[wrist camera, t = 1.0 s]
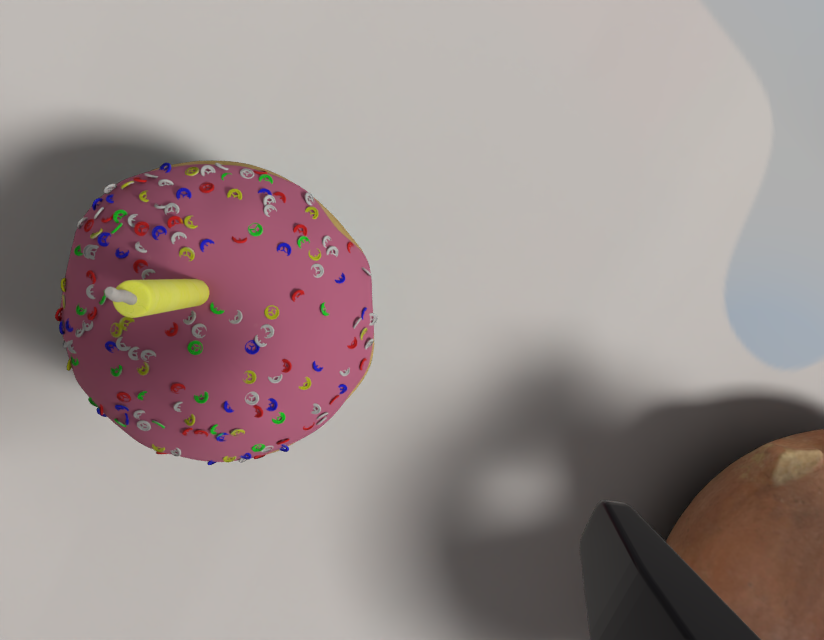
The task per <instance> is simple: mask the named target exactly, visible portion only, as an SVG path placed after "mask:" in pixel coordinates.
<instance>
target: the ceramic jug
mask: <svg viewBox="0 0 824 640" xmlns="http://www.w3.org/2000/svg"><path fill="white" fill-rule="evenodd" d="M666 543H667V544H668V545H669V546H670V547H671V548H672V549H673V550H674V551H675V552H676V553H677V554H678V555H679V556H680V557H681V558H682V559H683V560H684V561H685V562H686V563H687V564H688V565H689V566H690V567H691V568H692V569H693V570H694V571H695V572H696V573H697V574H698V575H699V576H700V577H701V579H702V580H703V581H704V582H705V583H706V584H707V585H708V586H709V587H710V588H711V589H712V590H713V591H714V592H715V593H716V594H717V595H718V596H719V597H720V598H721V599H722V600H723V601H724V602H725V603H726V604H727V605H728V606H729V607H730V608H731V609H732V610H733V611H734V612H735V613H736V614H737V615H738V616H739V617H740V618H741V619H742V621H743V622H744V623H745V624H746V625H747V626H748V627H749V628H750V629H751V630H752V631H753V632H754V633H755V634H756V635H757V636H758V637H759V638H760V639H761V640H824V429H819V430H813V431H808V432H803V433H799V434H794V435H791V436H787V437H784V438H781V439H777V440H775V441H772V442H769V443H767V444H765V445H762V446H760V447H759V448H757V449H755V450H753V451H751V452H750V453H748V454H746V455H745V456H743V457H741V458H740V459H738V460H736V461H735V462H733V463H732V464H731V465H729V466H728V467H726V468H725V469H724V470H723V471H722V472H720V473H719V474H718V475H717V476H716V477H714V478H713V479H712V480H711V481H710V482H709V483H708V484H707V485H706V486H705V487H704V488H703V489H702V490H701V491H700V492H699V493H698V494H697V495H696V496H695V498H694V499H693V500H692V502H691V503H690V504H689V506H688V507H687V508H686V509H685V511H684V512H683V513H682V515H681V516H680V518H679V519H678V521H677V522H676V524H675V526H674V527H673V529H672V531H671V533H670V534H669V536H668V538H667V540H666Z"/></svg>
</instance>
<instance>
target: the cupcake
mask: <svg viewBox="0 0 824 640" xmlns="http://www.w3.org/2000/svg"><path fill="white" fill-rule="evenodd" d="M110 187H111V188H110ZM108 188H110V189H108ZM103 192H104V193H105V194H104V195H103V196H102V197H101V198H98V199H96V200H95V201H94V202H93V204H92V207H91V208H90V209H89V210H88V212H87V213H86V214H85V216H84V217H83V218H82V219H81V220H79V222H78V223H77V230H76V232H75V236H74V241H73V245H72V249H71V253H70V257H69V262H68V266H67V271H66V276H65V278H63V279H62V280H61V289H62V291H63V293H62V301H61V308H59V309H58V310H57V312H56V315H55V318H56V320H57V321H60V325H59V329H60V333H61V334H63V338H64V343H63V347H64V348H66V349H67V352H68V356H69V361H68V364H67V370H68V371H69V370H70V369H71V368H72V369H73V372H74V375H75V378H76V380H77V382H78V383H79V385H80V386H81V388H82V389H83V390H84V391H85V393H86V394H87V395H88V396H89V399H88V400H89V402H90V403H91V404H92V405H94V406H96V407H98V408H97V413H98V414H99V415H101V416H103V417H108V418H109V419H111V420H112V421H113V422H114V423H115V424H116V425H118V426H119V427H120V428H121V429H122V430H124V431H125V432H126V433H127V434H128V435H130V436H131V437H132V438H134V439H135V440H136V441H138V442H139V443H141V444H143V445H144V446H147V447H149V448H151V449H154V450H155V451H157V452H156V453H157V454H172V455H174V456H181V457H186V458H190V459H195V460H201V461H209V462H208V465H212V464H214V463H216V462H232V461H236V460H239V462H240V463H242V462H244V461H246V460H247V459H250V458H253V457H254V459H258V458H261V457H263V456H265V455H266V454H270V453H273V452H276V451H279V450H281V451H284V452H287V451H288V450H289V448H288V446H290V445H291V444H293V443H295V442H297V441H298V440H300V439H302V438H304V437H306V436H308V435H309V434H311V433H313V432H314V431H316V430H317V429H319V428H320V427H321V426H322V425H324V424H325V423H326V422H327V421H328V420H329V419H330V418H331V417H332V416H333V415H334V414H335V413H336V412H337V411H338V409H339V408H340V407H341V406H342V404H343V403H344V402H345V401H346V400H347V399H348V398H349V397H350V395H351V394H352V393H353V392H354V391H355V390H356V388H357V387H358V386H359V384H360V383H361V382H362V380H363V379H364V377H365V375H366V373H367V371H368V369H369V367H370V364H371V361H372V357H373V350H374V324H375V323H376V321H377V316H376V315H375V314H374V313H373V306H372V282H371V272H370V267H369V264H368V261H367V259H366V257H365V255H364V253H363V251H362V250H361V249H360V247H359V246H358V245H357V243H356V242H355V241H354V239H353V238H352V237H351V236H350V235H349V233H348V232H347V231H346V230H345V228H344V227H343V226H342V225H341V223H340V222H339V221H338V220H337V219H336V218H335V217H334V216H333V215H332V214H331V213H330V212H329V211H328V210H327V209H326V208H325V207H324V206H323V205H322V204H321V203H320V202H319V201H317V200H316V199H315V198H314V197H313V196H312V194H310V193H308V192H307V191H306V190H304V189H303V188H301V187H300V186H298V185H296V184H295V183H293V182H291V181H289V180H288V179H286V178H284V177H282V176H280V175H278V174H275V173H273V172H271V171H268V170H266V169H263V168H260V167H257V166H253V165H249V164H245V163H239V162H231V161H194V162H186V163H180V164H173V165H170V164H169V163H164V164H163V165H161V167H160V168H157V169H154V170H152V171H149V172H145V173H142V174H139V175H136V176H133V177H130V178H127V179H125V180H123V181H121V182H119V183H118V184H110V185H108V186H106V187H105V188H104V190H103ZM63 283H64V284H63ZM59 313H60V316H58V315H59ZM373 317H374V319H373ZM103 413H104V414H103ZM284 448H286V449H284Z"/></svg>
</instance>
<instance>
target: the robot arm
mask: <svg viewBox="0 0 824 640" xmlns="http://www.w3.org/2000/svg"><path fill="white" fill-rule="evenodd" d="M580 555H581V564H582V572H583V581H584V589H585V598H586V606H587V615H588V623H589V632H590V639H591V640H761V639H760V638H759V637H758V636H757V635H756V634H755V633H754V632H753V631H752V630H751V629H750V628H749V627H748V626H747V625H746V624H745V623H744V622H743V621H742V619H741V618H740V617H739V616H738V615H737V614H736V613H735V612H734V611H733V610H732V609H731V608H730V607H729V606H728V605H727V604H726V603H725V602H724V601H723V600H722V599H721V598H720V597H719V596H718V595H717V594H716V593H715V592H714V591H713V590H712V589H711V588H710V587H709V586H708V585H707V584H706V583H705V582H704V581H703V580H702V579H701V577H700V576H699V575H698V574H697V573H696V572H695V571H694V570H693V569H692V568H691V567H690V566H689V565H688V564H687V563H686V562H685V561H684V560H683V559H682V558H681V557H680V556H679V555H678V554H677V553H676V552H675V551H674V550H673V549H672V548H671V547H670V546H669V545H668V544H667V543H666V542H665V541H664V540H663V539H662V538H661V537H660V535H659V534H658V533H657V532H656V531H655V530H654V529H653V528H652V527H651V526H650V525H649V524H648V523H647V522H646V521H645V520H644V519H643V518H642V517H641V516H640V515H639V514H638V513H637V512H636V511H635V510H634V509H633V508H632V507H631V506H630V505H628V504H626V503H623V502H616V501H608V500H603V501H600V502H599V503H598V504H597V506H596V507H595V509H594V511H593V513H592V516H591V518H590V520H589V522H588V524H587V526H586V528H585V530H584V532H583V534H582V537H581V541H580Z"/></svg>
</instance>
